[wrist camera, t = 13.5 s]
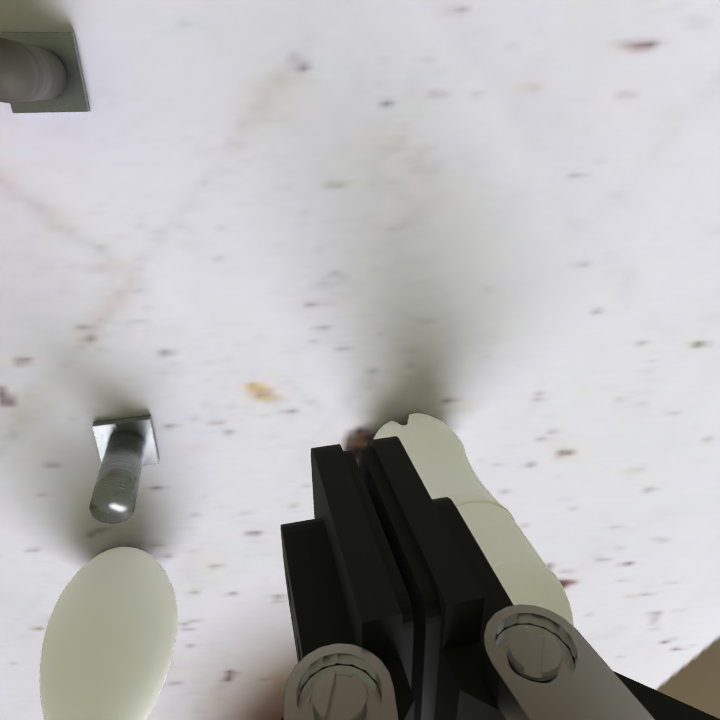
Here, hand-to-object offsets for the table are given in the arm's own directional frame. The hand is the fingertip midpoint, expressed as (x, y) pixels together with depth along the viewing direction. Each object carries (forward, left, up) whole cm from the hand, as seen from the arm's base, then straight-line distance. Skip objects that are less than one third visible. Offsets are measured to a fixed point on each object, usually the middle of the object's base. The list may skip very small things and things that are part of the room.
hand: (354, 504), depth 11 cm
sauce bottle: (+25, -12, -27) cm, 39 cm away
